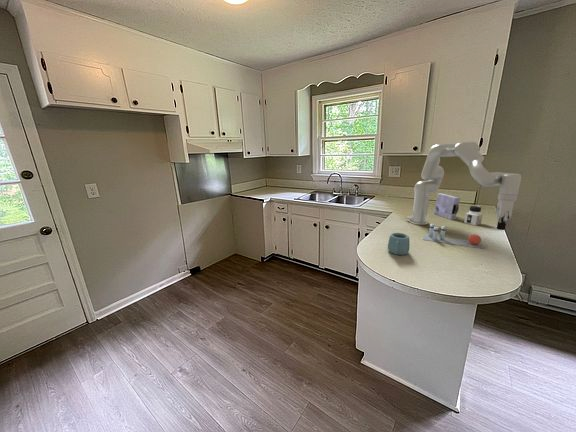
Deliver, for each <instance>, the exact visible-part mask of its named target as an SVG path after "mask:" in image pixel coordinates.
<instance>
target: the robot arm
mask: <svg viewBox="0 0 576 432" xmlns="http://www.w3.org/2000/svg"><path fill="white" fill-rule="evenodd" d="M479 150H480V146H479V144H478V143H477V142H475V141H471V140H470V141H460V142H455V143H452V142H451V143H449V142H446V143H444V142H443V143H436V144H434V145H432V146H431V147H430V148H429V150H428V151H427V156H426V159H425V162H424V165H423V167H422V171H421V174H420V176H421V179H423V180H421V181H418V182H416V183H415V185H414V186H413V187H414V189H413V190H414V199H413V208H412V215H410V216H409V215H405V219H407V220H408V221H409V223H411V224H413V225H418V226H425V225H428V224H429V221H428V220H427V216H428V210H429V200H430V198H429V194H433V193H436V192H437V191H439V188H440V186H441V183H442V181H443V179H444V175H445V170H444V168H443V166H441V165H440V163H441V158H442V157H443V158H447V157H458V158H459V159H460V160H461V161H462V162H463V163H465V165H466V166H467V167H468V171H469V174H470V175H471V177H472V178H473V179H474V180H475V181H476V182H477V183H478V184H479V185H481V186H483V187H485V188H486V187H489V188H490V187H496V186H500V187H499V189H498V191H499V192H498V195H497V200H498V202H497V205H496V207H495V208H496V209H495V213H494V214H495V216H496V217H497V218H498V219H497V224H496V229H497V230H500V231H501V230H502V231H505V229H506V225H507V222H508V219H509V220H510V219H511V218H512V214H513V209H514V203H515V202H516V201H517V199H518V195H519V189H520V187H521V181H522V175H521V174H520V173H506V172H500V171H494V172H489V171H488V170H487V169H486V168H485V166H484V165H483V164H482V162H483V161H484V159H485V157H484V155H483V154H481V152H479Z"/></svg>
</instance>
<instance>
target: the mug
mask: <svg viewBox="0 0 576 432" xmlns="http://www.w3.org/2000/svg"><path fill="white" fill-rule="evenodd" d="M387 250H388V251H389V252H390V253H391V254H394V255H396V256H397V255H398V256H404V255H407V254H409V253H410V252H409V251H410V237H409V235H407V234H405V233H401V232H394V233H393V232H392V233H391V234H390V235H389V237H388V242H387Z"/></svg>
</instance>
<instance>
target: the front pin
mask: <svg viewBox="0 0 576 432" xmlns="http://www.w3.org/2000/svg"><path fill="white" fill-rule="evenodd" d="M440 228H441V229H440V233H439V237H440V240H444V237H446V236H445V235H446V231H447V226H443V225H442V226H441V227H440Z"/></svg>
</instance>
